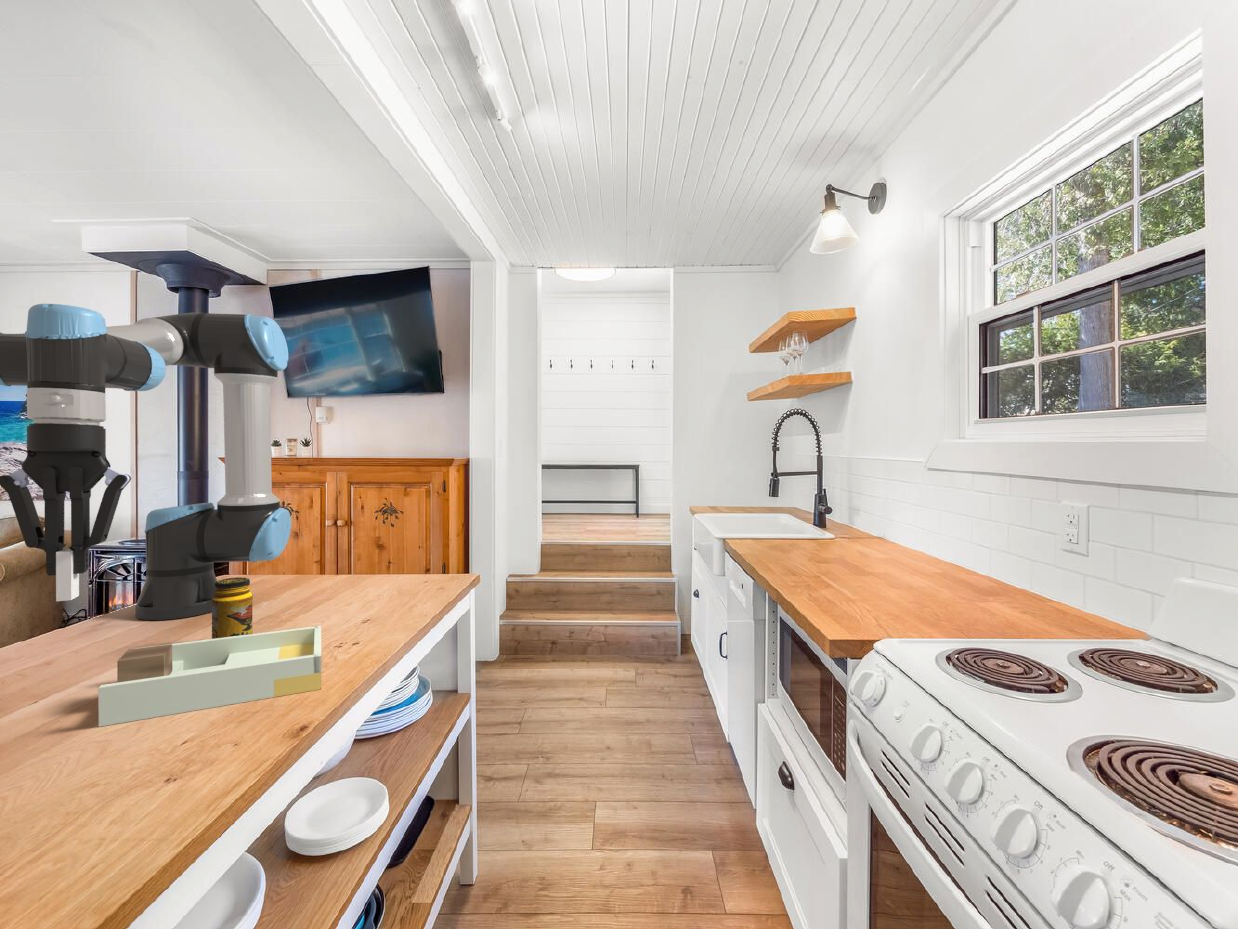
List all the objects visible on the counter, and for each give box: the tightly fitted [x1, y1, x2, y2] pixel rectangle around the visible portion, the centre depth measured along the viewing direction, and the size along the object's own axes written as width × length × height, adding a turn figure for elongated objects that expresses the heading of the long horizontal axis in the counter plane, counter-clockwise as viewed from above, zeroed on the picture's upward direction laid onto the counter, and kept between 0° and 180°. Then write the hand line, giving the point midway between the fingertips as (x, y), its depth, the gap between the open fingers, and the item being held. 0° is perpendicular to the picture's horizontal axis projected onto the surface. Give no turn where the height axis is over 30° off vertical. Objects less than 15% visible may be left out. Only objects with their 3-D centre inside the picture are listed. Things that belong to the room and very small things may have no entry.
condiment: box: [211, 576, 254, 639], centre depth 100 cm, size 7×8×12 cm
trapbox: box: [97, 625, 322, 728], centre depth 84 cm, size 16×25×5 cm, turn 118°
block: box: [116, 643, 173, 683], centre depth 79 cm, size 5×5×4 cm
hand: (67, 598), depth 75 cm, fingers closed
